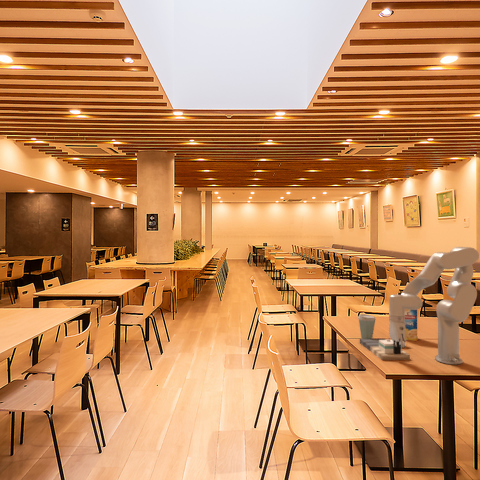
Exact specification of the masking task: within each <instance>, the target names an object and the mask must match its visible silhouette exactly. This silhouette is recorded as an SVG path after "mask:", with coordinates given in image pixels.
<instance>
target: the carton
mask: <svg viewBox="0 0 480 480" xmlns="http://www.w3.org/2000/svg"><path fill="white" fill-rule="evenodd" d="M393 346H394V345H393V341H392V339H385V340H379V349H380V350H381V351H382V352H384V353H393ZM402 350H403V347H402V345H401V353H402Z"/></svg>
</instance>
